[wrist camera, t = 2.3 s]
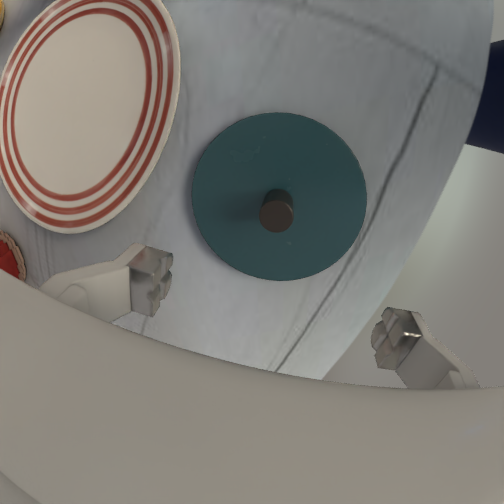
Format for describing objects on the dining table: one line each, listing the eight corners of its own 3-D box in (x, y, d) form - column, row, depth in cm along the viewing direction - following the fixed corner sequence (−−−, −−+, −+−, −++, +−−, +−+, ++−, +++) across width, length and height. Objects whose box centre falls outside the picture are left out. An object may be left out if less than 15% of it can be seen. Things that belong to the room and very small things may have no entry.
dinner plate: (101, -41, 12) (86, -49, 9) (258, 89, 19) (253, 83, 16) (-8, 126, 22) (-24, 130, 19) (85, 265, 29) (69, 279, 26)
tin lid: (395, 203, 22) (415, 221, 18) (279, 300, 28) (276, 331, 23) (274, 77, 19) (270, 66, 15) (165, 202, 25) (142, 219, 20)
